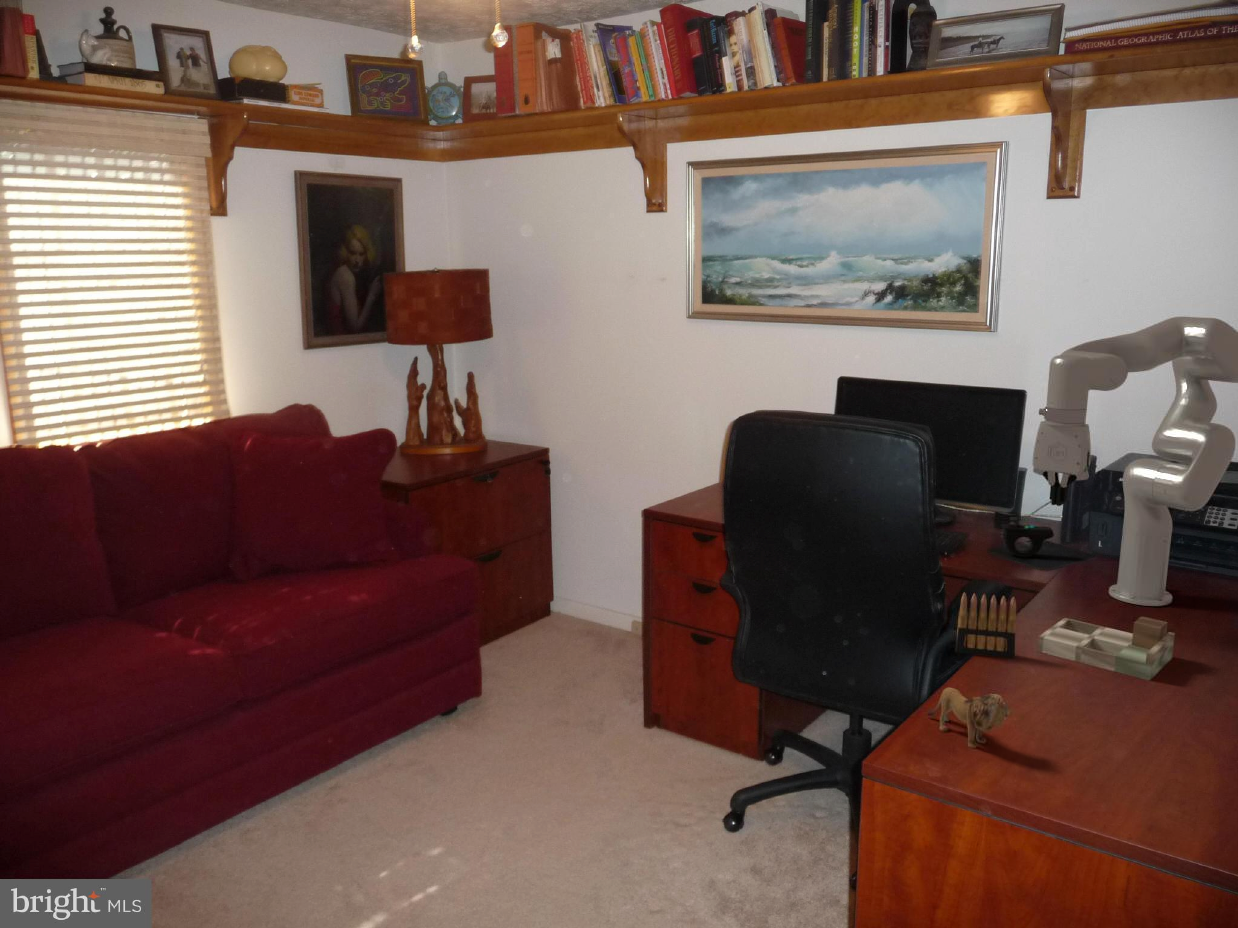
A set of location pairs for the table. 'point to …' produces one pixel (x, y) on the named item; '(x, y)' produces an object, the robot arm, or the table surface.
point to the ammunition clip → (986, 628)
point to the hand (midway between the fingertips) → (1057, 504)
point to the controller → (1017, 531)
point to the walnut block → (1148, 632)
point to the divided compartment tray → (1105, 648)
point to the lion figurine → (972, 712)
